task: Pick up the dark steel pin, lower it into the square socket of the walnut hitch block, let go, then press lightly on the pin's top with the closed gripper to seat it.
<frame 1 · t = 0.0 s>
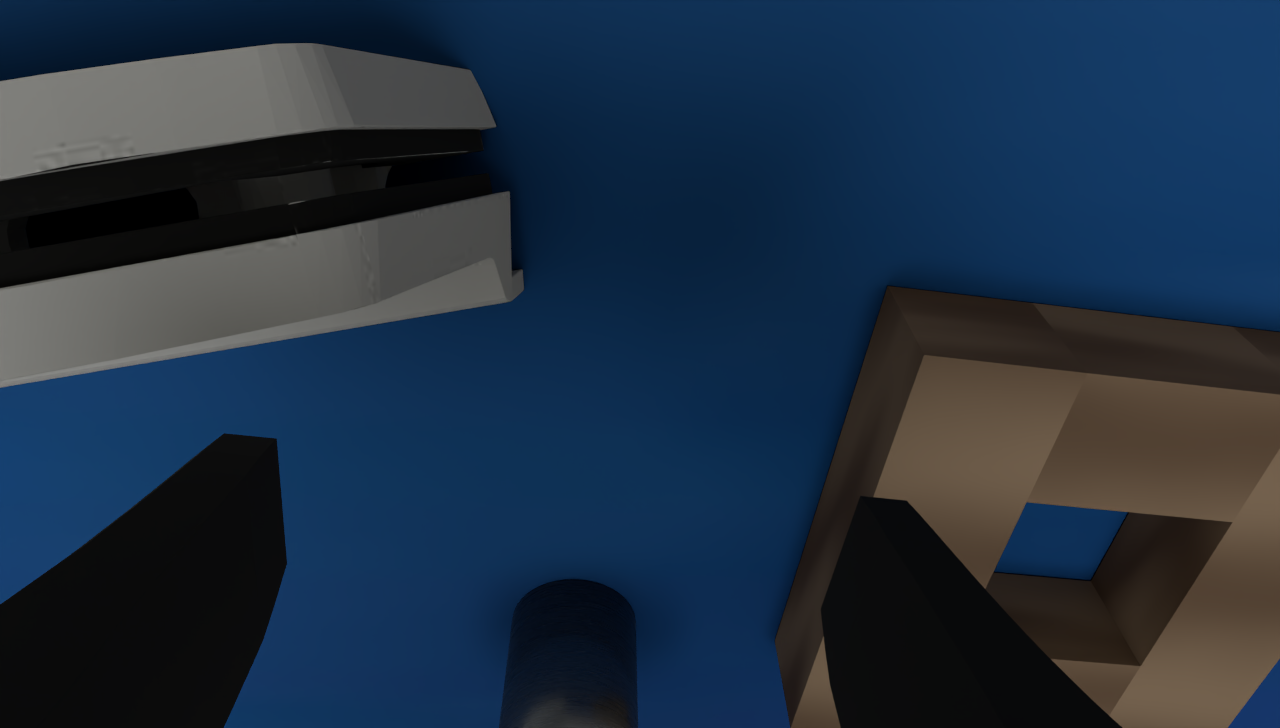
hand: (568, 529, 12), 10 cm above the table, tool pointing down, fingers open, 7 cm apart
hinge: (124, 186, 20), on the table
pin: (574, 623, 27), on the table
hitch block: (1040, 507, 25), on the table
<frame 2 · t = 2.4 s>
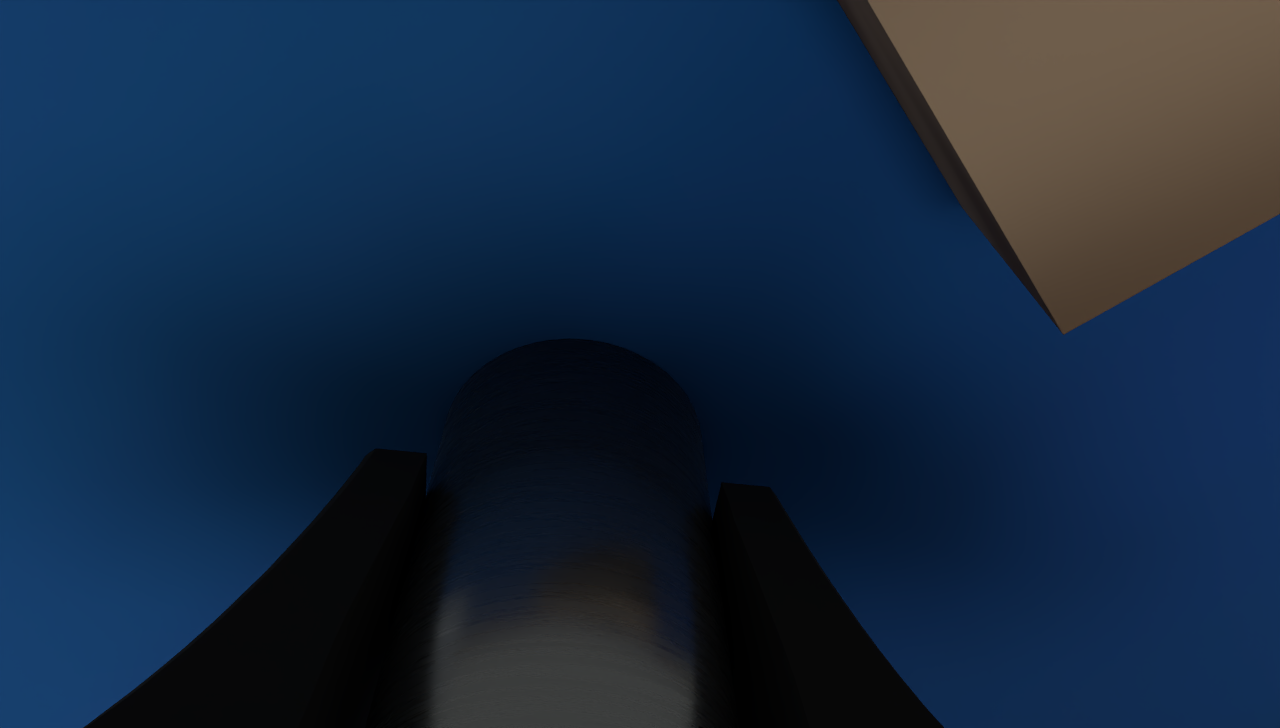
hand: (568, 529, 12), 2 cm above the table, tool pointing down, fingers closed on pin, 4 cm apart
pin: (573, 449, 13), on the table, touching gripper
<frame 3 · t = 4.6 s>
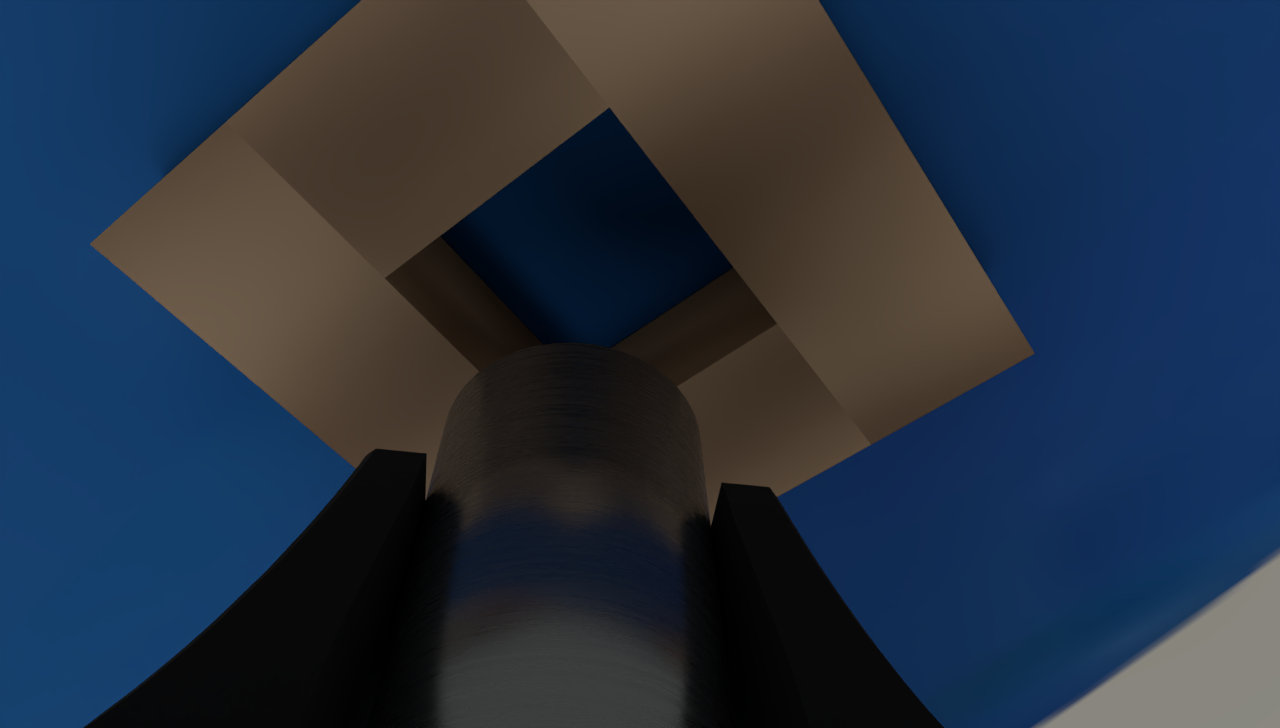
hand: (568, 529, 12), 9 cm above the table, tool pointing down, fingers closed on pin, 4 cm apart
pin: (572, 450, 13), point 7 cm above the table, touching gripper
hitch block: (589, 231, 19), on the table
when the fingers open (3 cm above the table, at t = 6.7 s): pin drops 2 cm, resting in hitch block.
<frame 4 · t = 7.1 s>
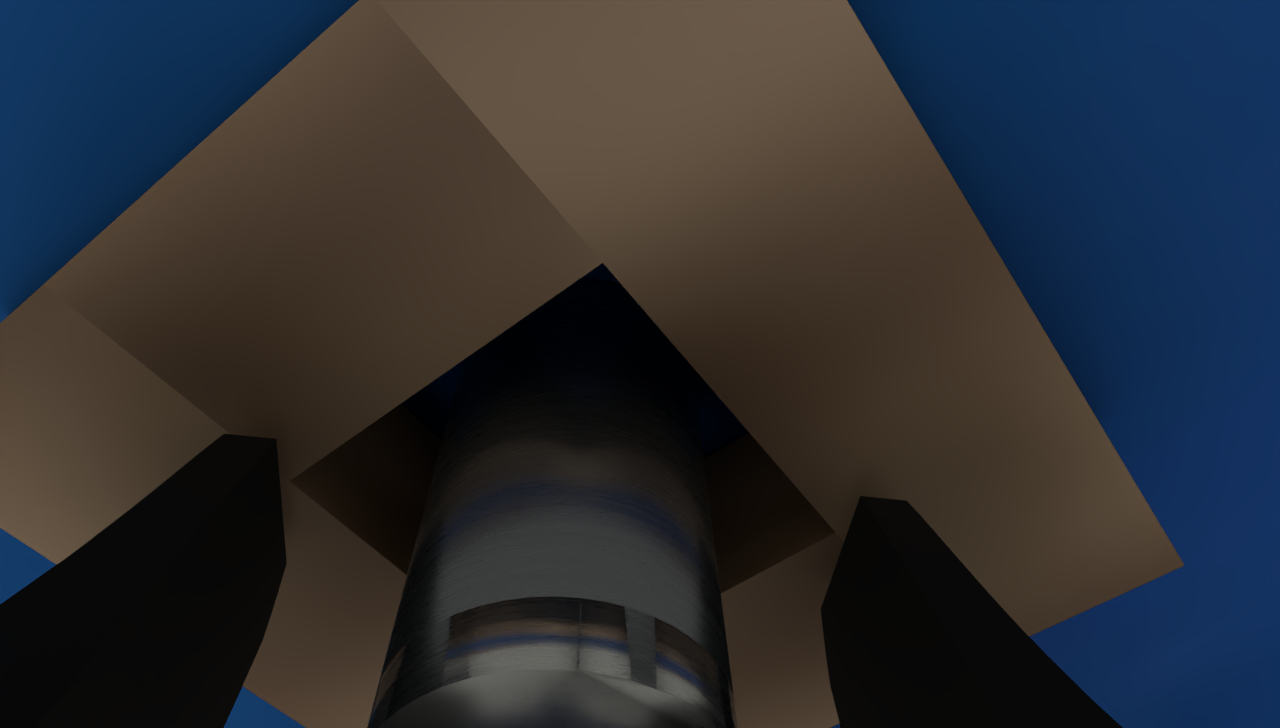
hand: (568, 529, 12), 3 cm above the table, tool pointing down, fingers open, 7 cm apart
pin: (578, 380, 15), resting in hitch block
hitch block: (578, 379, 15), on the table
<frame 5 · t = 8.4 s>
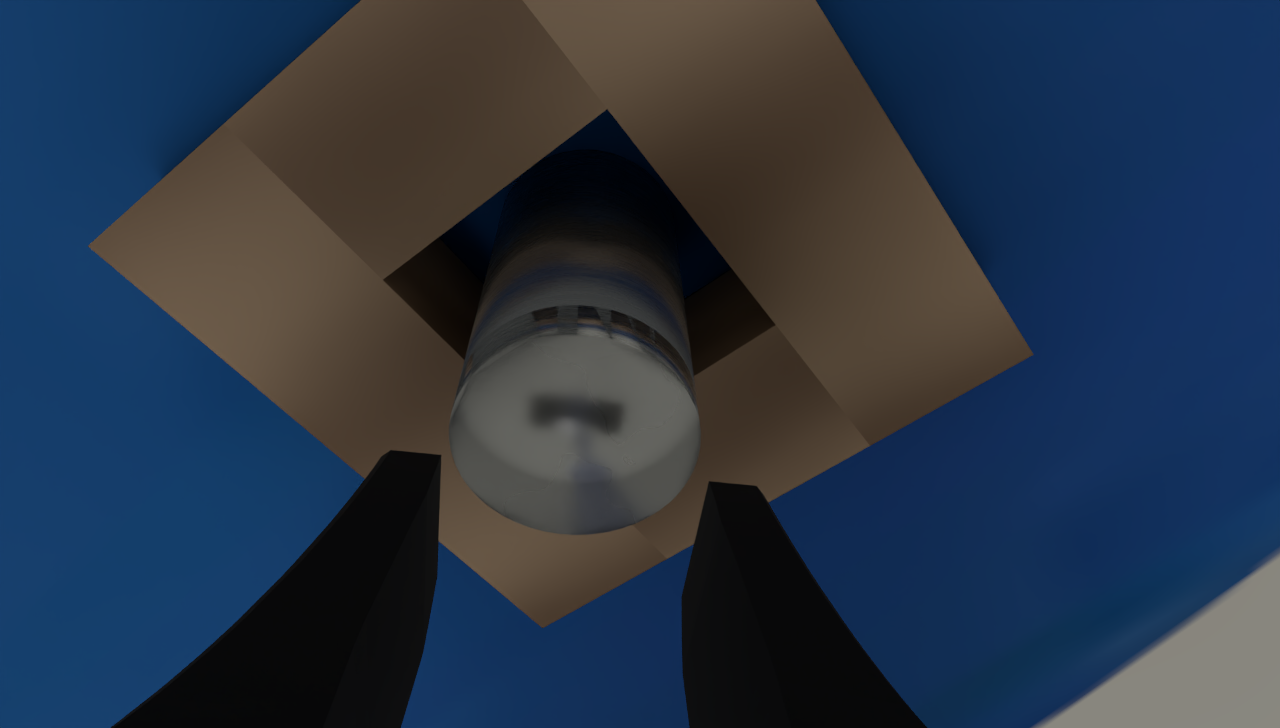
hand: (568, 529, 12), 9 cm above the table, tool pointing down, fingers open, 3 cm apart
pin: (587, 234, 19), resting in hitch block
hitch block: (587, 232, 19), on the table
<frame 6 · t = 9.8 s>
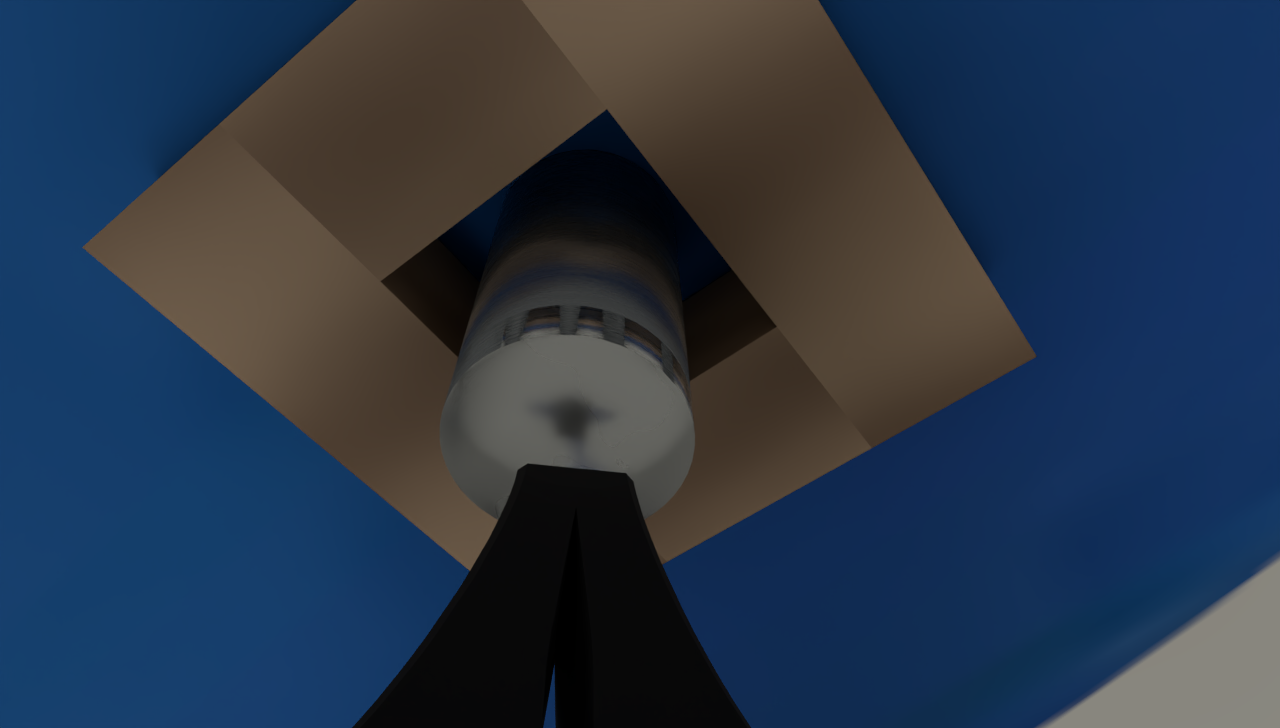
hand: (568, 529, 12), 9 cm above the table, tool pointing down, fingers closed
pin: (587, 234, 19), resting in hitch block
hitch block: (587, 233, 19), on the table
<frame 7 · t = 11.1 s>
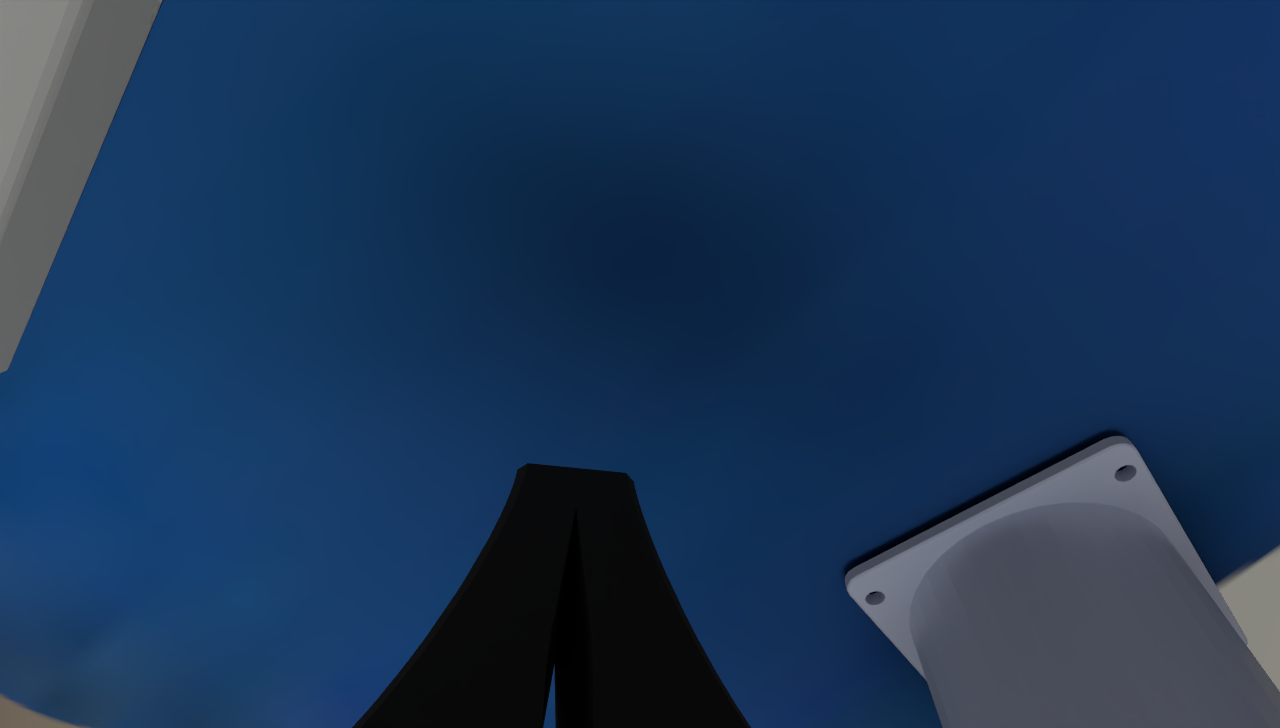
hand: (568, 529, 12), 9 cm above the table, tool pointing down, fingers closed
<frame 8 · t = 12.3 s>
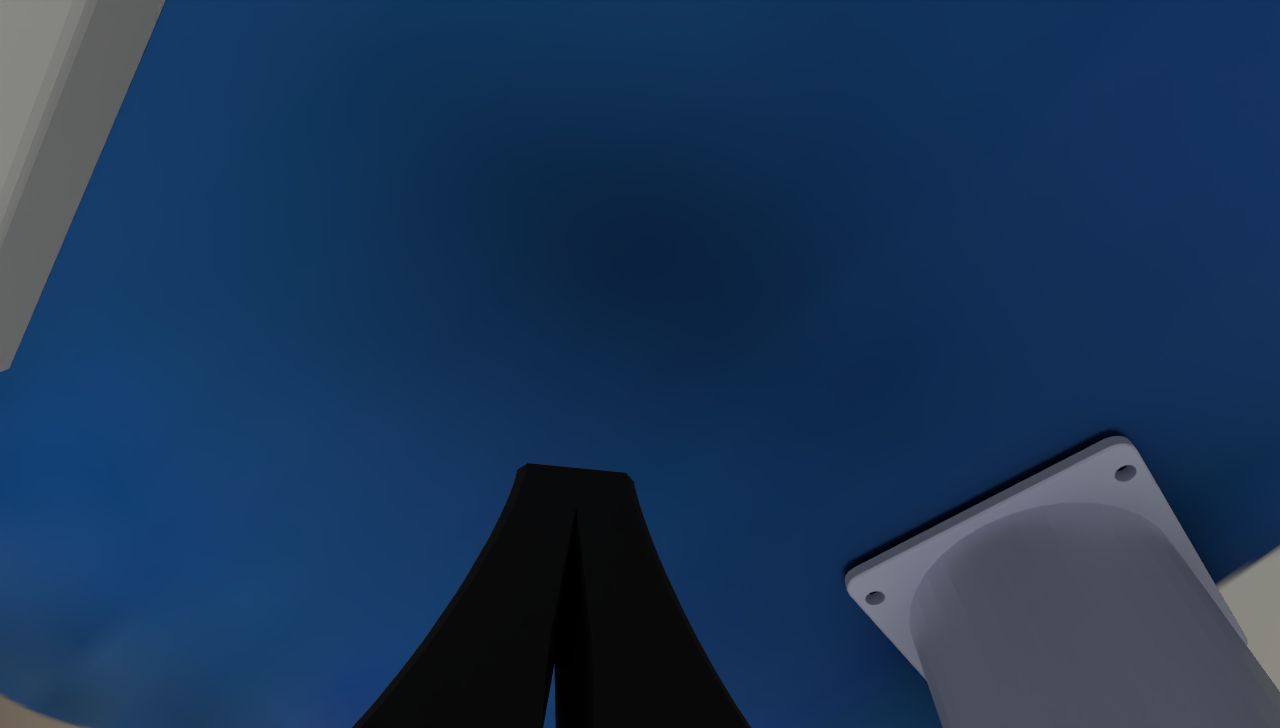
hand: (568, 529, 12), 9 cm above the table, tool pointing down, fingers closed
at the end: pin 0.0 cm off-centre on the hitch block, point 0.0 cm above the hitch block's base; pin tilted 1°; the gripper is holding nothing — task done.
